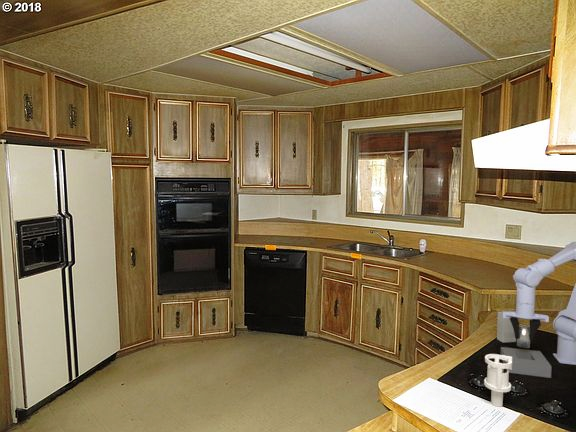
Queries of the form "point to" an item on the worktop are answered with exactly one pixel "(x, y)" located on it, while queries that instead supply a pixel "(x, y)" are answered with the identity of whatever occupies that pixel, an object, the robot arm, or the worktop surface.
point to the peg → (523, 336)
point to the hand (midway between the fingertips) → (523, 338)
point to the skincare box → (505, 329)
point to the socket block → (527, 362)
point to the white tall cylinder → (497, 377)
